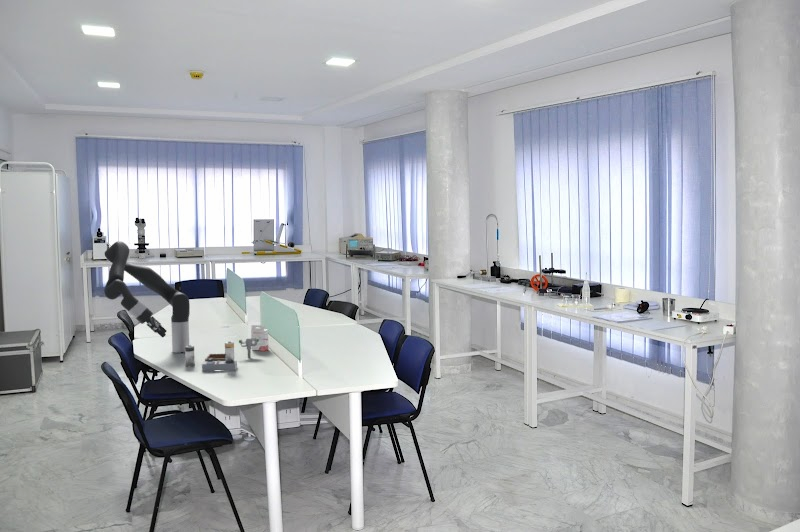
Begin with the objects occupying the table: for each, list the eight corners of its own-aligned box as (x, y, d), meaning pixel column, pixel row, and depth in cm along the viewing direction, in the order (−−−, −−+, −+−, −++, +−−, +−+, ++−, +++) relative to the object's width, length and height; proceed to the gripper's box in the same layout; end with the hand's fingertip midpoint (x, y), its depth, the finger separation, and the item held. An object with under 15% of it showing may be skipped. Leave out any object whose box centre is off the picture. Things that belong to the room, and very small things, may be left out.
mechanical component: (239, 357, 346) (238, 339, 345) (258, 355, 350) (258, 337, 349) (239, 358, 343) (239, 340, 342) (259, 357, 347) (258, 339, 346)
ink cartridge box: (268, 349, 365) (268, 324, 364) (265, 351, 360) (264, 325, 359) (255, 348, 367) (254, 323, 366) (251, 350, 362) (250, 325, 361)
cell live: (225, 361, 323) (225, 340, 322) (235, 361, 324) (234, 340, 323) (224, 363, 319) (224, 342, 318) (233, 363, 319) (233, 342, 318)
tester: (204, 368, 323) (204, 360, 323) (236, 367, 325) (236, 359, 325) (202, 371, 317) (202, 363, 317) (235, 370, 319) (235, 362, 319)
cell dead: (186, 364, 331) (186, 344, 330) (195, 364, 331) (195, 344, 330) (184, 366, 326) (184, 346, 325) (193, 366, 327) (193, 346, 326)
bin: (209, 360, 339) (209, 354, 339) (231, 359, 340) (231, 353, 340) (205, 365, 328) (204, 359, 328) (227, 365, 329) (227, 358, 329)
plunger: (207, 368, 322) (207, 358, 322) (215, 368, 323) (214, 357, 322) (206, 370, 318) (205, 359, 318) (213, 370, 319) (213, 359, 318)
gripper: (136, 315, 326) (160, 336, 330) (133, 320, 312) (158, 342, 317) (147, 304, 327) (171, 326, 331) (145, 309, 313) (169, 332, 318)
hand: (164, 334), depth 324 cm, fingers open, 8 cm apart
